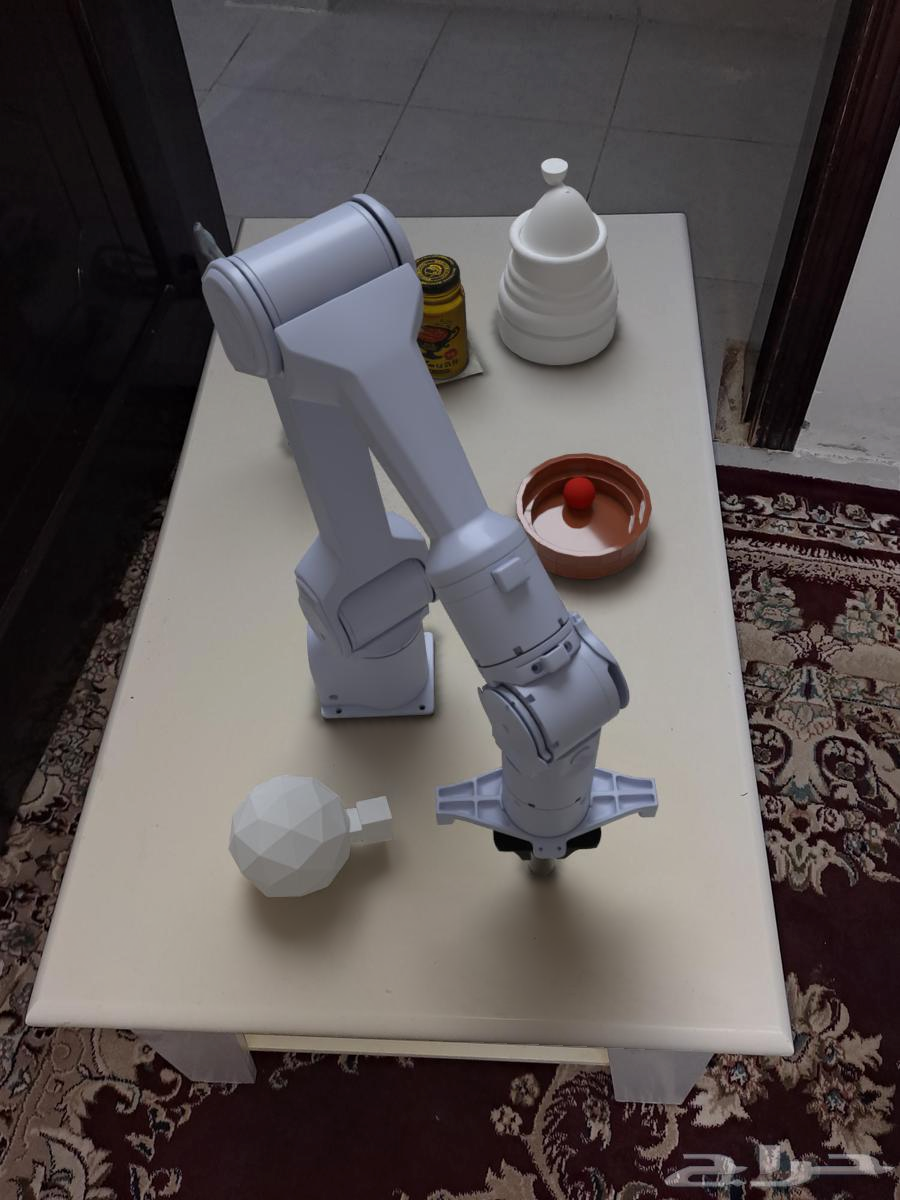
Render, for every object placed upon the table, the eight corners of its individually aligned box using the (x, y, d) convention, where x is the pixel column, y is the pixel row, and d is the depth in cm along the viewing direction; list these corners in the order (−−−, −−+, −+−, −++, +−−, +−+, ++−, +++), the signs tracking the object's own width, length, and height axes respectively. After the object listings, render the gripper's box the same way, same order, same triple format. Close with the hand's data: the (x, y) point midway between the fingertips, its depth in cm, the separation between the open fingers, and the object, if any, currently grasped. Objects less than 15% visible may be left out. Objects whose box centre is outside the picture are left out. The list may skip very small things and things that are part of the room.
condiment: (418, 390, 105) (409, 297, 95) (397, 339, 110) (386, 246, 100) (483, 373, 106) (480, 280, 96) (459, 323, 111) (455, 230, 101)
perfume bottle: (242, 936, 72) (404, 899, 74) (224, 853, 66) (399, 816, 69) (231, 845, 78) (380, 813, 81) (214, 763, 73) (374, 732, 76)
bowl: (519, 585, 90) (520, 559, 87) (512, 484, 97) (512, 456, 94) (654, 579, 90) (660, 553, 87) (637, 478, 97) (642, 450, 94)
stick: (528, 876, 75) (530, 836, 68) (527, 850, 76) (529, 809, 70) (555, 875, 75) (559, 835, 68) (553, 849, 76) (557, 808, 70)
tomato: (563, 516, 94) (565, 495, 91) (561, 492, 96) (562, 471, 93) (595, 514, 94) (598, 494, 91) (592, 490, 95) (594, 469, 93)
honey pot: (479, 307, 112) (475, 159, 98) (581, 275, 115) (592, 126, 100) (528, 379, 105) (531, 231, 91) (636, 343, 108) (656, 193, 93)
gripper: (431, 833, 60) (444, 904, 71) (674, 824, 59) (648, 897, 70) (430, 727, 64) (442, 810, 75) (658, 718, 63) (636, 803, 74)
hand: (542, 846), depth 73 cm, fingers closed on stick, 2 cm apart
